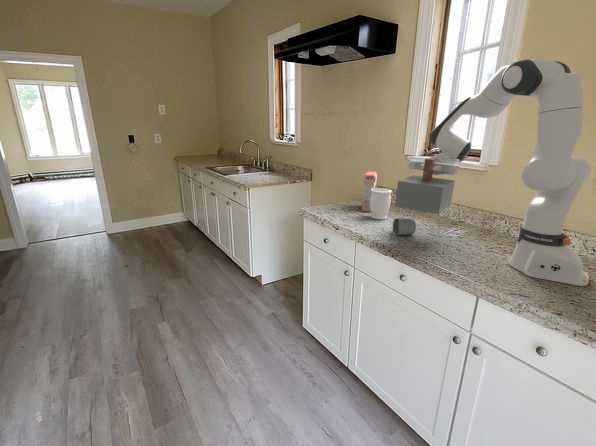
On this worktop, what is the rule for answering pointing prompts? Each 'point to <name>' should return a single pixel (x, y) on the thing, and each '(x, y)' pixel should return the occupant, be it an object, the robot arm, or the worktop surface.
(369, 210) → the cracker box
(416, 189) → the lid
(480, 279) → the worktop surface
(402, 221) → the ceramic mug
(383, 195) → the jar
